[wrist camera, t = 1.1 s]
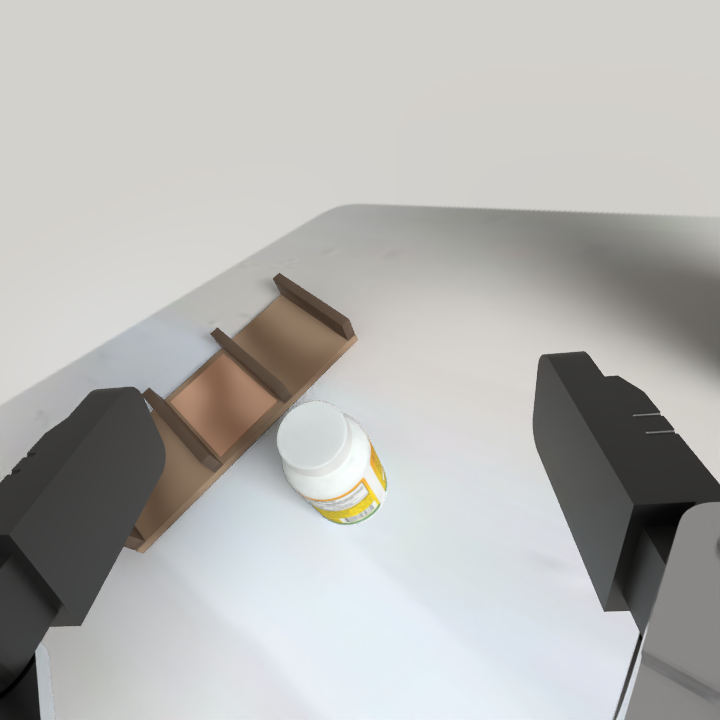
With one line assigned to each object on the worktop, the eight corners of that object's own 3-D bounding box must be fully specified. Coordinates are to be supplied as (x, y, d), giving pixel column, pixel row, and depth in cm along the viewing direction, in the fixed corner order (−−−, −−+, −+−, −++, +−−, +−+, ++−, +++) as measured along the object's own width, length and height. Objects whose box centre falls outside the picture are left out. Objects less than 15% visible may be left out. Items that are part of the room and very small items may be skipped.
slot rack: (291, 294, 44) (279, 272, 42) (357, 339, 40) (349, 318, 37) (91, 475, 38) (64, 462, 36) (143, 553, 34) (116, 544, 31)
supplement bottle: (369, 540, 31) (331, 499, 23) (301, 509, 33) (245, 462, 25) (401, 466, 33) (375, 406, 25) (335, 441, 35) (293, 378, 27)
